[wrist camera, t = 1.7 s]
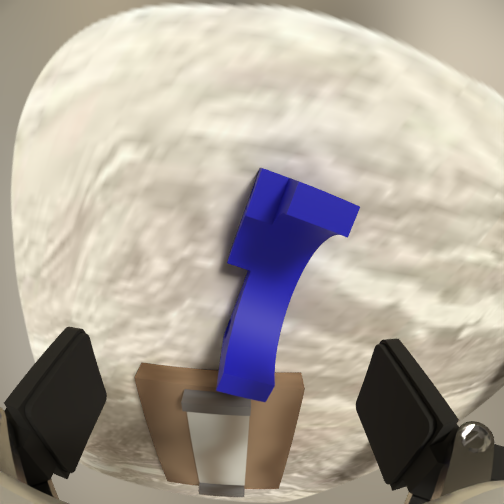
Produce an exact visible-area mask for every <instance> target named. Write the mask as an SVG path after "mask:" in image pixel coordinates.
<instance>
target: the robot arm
mask: <svg viewBox="0 0 504 504" xmlns="http://www.w3.org/2000/svg"><path fill="white" fill-rule="evenodd" d="M106 397H107V395H106V390H105V387H104V384H103V381H102V378H101V375H100V372H99V369H98V366H97V362H96V359H95V355H94V352H93V348H92V345H91V341H90V337H89V335H88V334H86V333H85V331H84V330H83V329H80V328H74V327H67V328H65V330H64V331H63V332H62V333H61V334H60V335H59V336H58V337H57V338H56V340H55V341H54V342H53V343H52V344H51V345H50V346H49V348H48V349H47V350H46V351H45V352H44V353H43V355H42V356H41V357H40V358H39V359H38V361H37V362H36V363H35V364H34V365H33V367H32V368H31V369H30V370H29V371H28V373H27V374H26V375H25V377H24V378H23V379H22V380H21V381H20V383H19V384H18V385H17V387H16V388H15V389H14V390H13V392H12V393H11V394H10V396H9V397H8V398H7V400H6V401H5V402H4V404H5V405H6V407H7V408H6V410H5V411H4V410H3V409H2V408H1V407H0V504H68V503H66V502H63V501H61V500H59V498H58V495H57V493H56V490H55V488H54V485H53V483H52V479H51V477H52V475H53V473H54V474H56V475H58V476H61V477H63V478H66V479H68V477H69V474H70V473H73V472H74V471H75V469H76V467H77V465H78V462H79V460H80V458H81V455H82V453H83V451H84V448H85V446H86V444H87V441H88V439H89V437H90V435H91V432H92V430H93V428H94V426H95V424H96V421H97V419H98V417H99V415H100V413H101V411H102V409H103V406H104V404H105V402H106ZM356 410H357V413H358V416H359V418H360V420H361V423H362V425H363V428H364V430H365V433H366V435H367V438H368V440H369V443H370V445H371V448H372V450H373V453H374V455H375V458H376V460H377V463H378V466H379V468H380V471H381V473H382V476H383V479H384V481H385V483H386V484H390V486H391V488H392V490H396V489H400V488H402V487H406V486H407V488H408V491H409V493H408V495H407V498H406V500H405V502H404V504H504V447H503V446H499V445H496V444H494V443H495V442H494V436H493V434H492V432H491V430H490V429H489V428H488V427H487V426H485V425H484V424H482V423H479V422H474V421H471V422H466V423H464V424H462V425H461V426H460V427H459V426H458V425H457V422H458V420H459V419H458V418H457V417H456V415H455V414H454V412H453V411H452V409H451V408H450V407H449V405H448V404H447V402H446V401H445V399H444V398H443V397H442V395H441V394H440V393H439V391H438V390H437V388H436V387H435V386H434V384H433V383H432V382H431V380H430V379H429V378H428V376H427V375H426V374H425V372H424V371H423V370H422V368H421V367H420V366H419V364H418V363H417V362H416V360H415V359H414V358H413V356H412V355H411V354H410V352H409V351H408V350H407V349H406V347H405V346H404V345H403V344H402V342H401V341H400V340H399V339H386V340H382V341H381V342H380V343H379V344H378V345H376V346H375V349H374V352H373V355H372V358H371V361H370V364H369V367H368V370H367V373H366V376H365V379H364V382H363V385H362V387H361V390H360V393H359V396H358V398H357V401H356Z"/></svg>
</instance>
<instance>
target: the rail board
mask: <svg viewBox="0 0 504 504" xmlns="http://www.w3.org/2000/svg"><path fill="white" fill-rule="evenodd" d="M218 372H219V371H217V370H203V369H192V368H181V367H172V366H164V365H156V364H148V363H141V365H140V367H139V369H138V371H137V374H136V376H135V382H136V386H137V390H138V393H139V397H140V401H141V404H142V408H143V411H144V415H145V418H146V422H147V425H148V428H149V431H150V434H151V437H152V440H153V443H154V446H155V449H156V452H157V455H158V458H159V460H160V463H161V466H162V468H163V471H164V474H165V476H166V479H167V481H169V482H175V483H182V484H189V485H198V486H199V494H202V495H213V496H227V497H244V489H279V486H280V482H281V479H282V476H283V472H284V469H285V465H286V462H287V458H288V455H289V451H290V447H291V444H292V440H293V436H294V432H295V428H296V424H297V420H298V416H299V412H300V407H301V403H302V399H303V394H304V390H305V388H304V384H303V379H302V375H301V372H300V373H275V387H274V388H273V390H272V392H271V394H270V395H269V397H268V399H267V401H266V402H261V401H256V400H252V399H247V398H243V397H239V396H235V395H231V394H227V393H223V392H219V391H216V388H217V380H218Z"/></svg>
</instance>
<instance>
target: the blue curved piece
mask: <svg viewBox="0 0 504 504" xmlns="http://www.w3.org/2000/svg"><path fill="white" fill-rule="evenodd" d="M359 209H360V207H359V206H357V205H355V204H353V203H350V202H348V201H346V200H343V199H341V198H339V197H336V196H334V195H331V194H329V193H327V192H324V191H322V190H319V189H317V188H314V187H312V186H309V185H307V184H304V183H302V182H299V181H296V180H293V179H290V178H288V177H285V176H282V175H280V174H277V173H274V172H271V171H269V170H266V169H263V168H260V170H259V172H258V175H257V178H256V181H255V183H254V186H253V189H252V192H251V195H250V197H249V200H248V203H247V206H246V209H245V211H244V214H243V217H242V220H241V223H240V226H239V228H238V231H237V234H236V237H235V240H234V243H233V246H232V248H231V251H230V254H229V258H228V262H227V263H228V264H231V265H234V266H237V267H240V268H243V269H246V270H248V272H247V275H246V277H245V280H244V283H243V285H242V288H241V291H240V293H239V296H238V299H237V302H236V304H235V307H234V310H233V312H232V315H231V318H230V320H229V323H228V326H227V328H226V331H225V334H224V336H223V343H222V350H221V358H220V365H219V372H218V380H217V388H216V391H219V392H223V393H227V394H231V395H235V396H239V397H243V398H247V399H252V400H256V401H261V402H266V401H267V399H268V397H269V395H270V394H271V392H272V390H273V388H274V387H275V360H276V352H277V346H278V341H279V336H280V332H281V328H282V324H283V320H284V317H285V314H286V310H287V308H288V305H289V302H290V299H291V296H292V294H293V291H294V289H295V287H296V284H297V282H298V280H299V278H300V276H301V274H302V272H303V270H304V268H305V266H306V265H307V263H308V261H309V260H310V258H311V257H312V255H313V254H314V252H315V251H316V250H317V249H318V247H319V246H320V245H321V244H322V243H323V242H324V241H326V240H327V239H328V238H330V237H332V236H334V235H342V236H345V237H348V236H349V233H350V231H351V228H352V226H353V224H354V221H355V219H356V216H357V214H358V211H359Z"/></svg>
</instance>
